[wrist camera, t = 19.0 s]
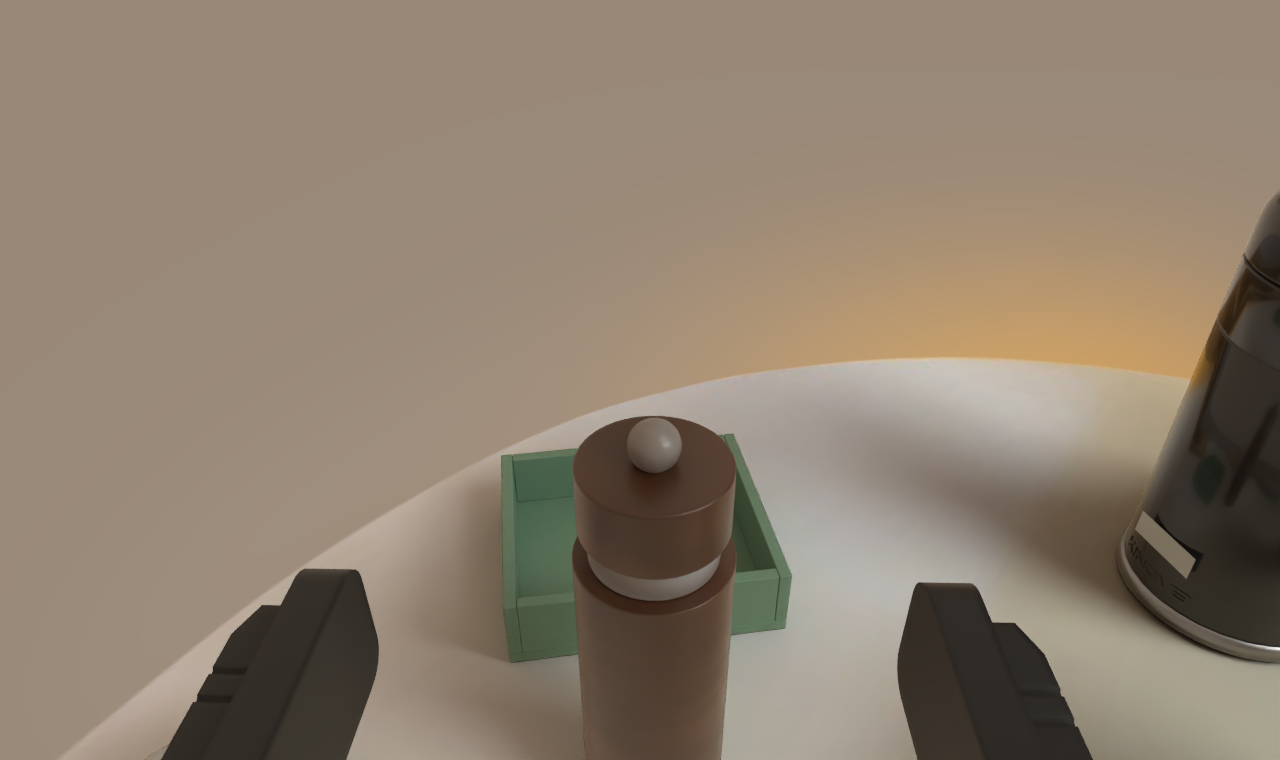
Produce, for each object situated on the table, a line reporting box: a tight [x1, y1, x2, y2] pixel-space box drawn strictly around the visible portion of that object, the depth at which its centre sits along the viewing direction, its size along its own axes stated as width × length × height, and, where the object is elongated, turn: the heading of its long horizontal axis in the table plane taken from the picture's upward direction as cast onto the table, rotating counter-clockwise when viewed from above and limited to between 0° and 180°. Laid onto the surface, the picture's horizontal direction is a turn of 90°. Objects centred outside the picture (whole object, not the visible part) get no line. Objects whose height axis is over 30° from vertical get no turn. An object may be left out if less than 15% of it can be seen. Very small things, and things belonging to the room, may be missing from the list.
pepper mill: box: [572, 416, 736, 760], centre depth 28 cm, size 5×5×18 cm
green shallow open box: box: [501, 434, 792, 662], centre depth 43 cm, size 13×11×4 cm
